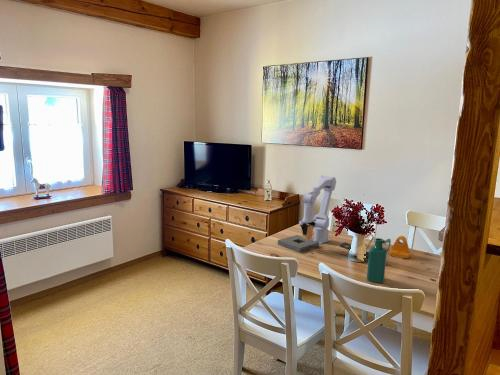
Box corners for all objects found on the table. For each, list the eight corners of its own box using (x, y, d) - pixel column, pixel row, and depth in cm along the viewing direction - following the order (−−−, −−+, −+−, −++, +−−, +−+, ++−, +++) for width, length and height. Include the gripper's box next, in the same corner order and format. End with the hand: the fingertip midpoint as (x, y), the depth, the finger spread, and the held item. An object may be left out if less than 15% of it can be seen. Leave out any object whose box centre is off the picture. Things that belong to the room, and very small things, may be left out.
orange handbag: (388, 255, 232) (390, 237, 230) (391, 252, 238) (393, 234, 236) (407, 259, 227) (409, 240, 225) (409, 256, 233) (411, 237, 231)
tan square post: (307, 236, 243) (307, 224, 241) (312, 238, 240) (312, 225, 238) (302, 237, 240) (302, 225, 239) (307, 239, 237) (308, 227, 235)
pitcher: (366, 281, 195) (369, 240, 191) (367, 274, 203) (371, 235, 199) (386, 284, 192) (390, 242, 187) (386, 278, 199) (390, 238, 195)
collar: (297, 239, 259) (297, 234, 258) (318, 246, 245) (319, 242, 244) (277, 244, 246) (277, 240, 246) (299, 252, 233) (299, 248, 232)
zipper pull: (344, 241, 236) (384, 251, 221) (343, 251, 237) (383, 262, 222) (338, 245, 229) (379, 255, 214) (337, 255, 231) (377, 266, 215)
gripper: (310, 210, 245) (309, 230, 247) (295, 213, 235) (294, 234, 238) (319, 212, 240) (318, 233, 242) (304, 215, 230) (303, 237, 232)
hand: (307, 233), depth 240 cm, fingers closed on tan square post, 5 cm apart
